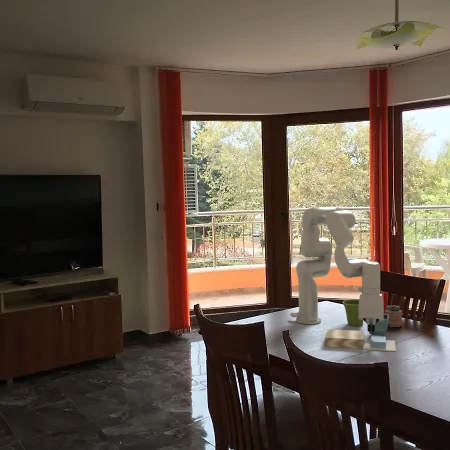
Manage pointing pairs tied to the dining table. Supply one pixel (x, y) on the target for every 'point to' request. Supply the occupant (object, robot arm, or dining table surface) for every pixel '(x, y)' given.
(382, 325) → the flower pot
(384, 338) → the light blue block
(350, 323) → the plant pot
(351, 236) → the robot arm
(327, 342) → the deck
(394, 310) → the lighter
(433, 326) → the dining table surface
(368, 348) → the mat
